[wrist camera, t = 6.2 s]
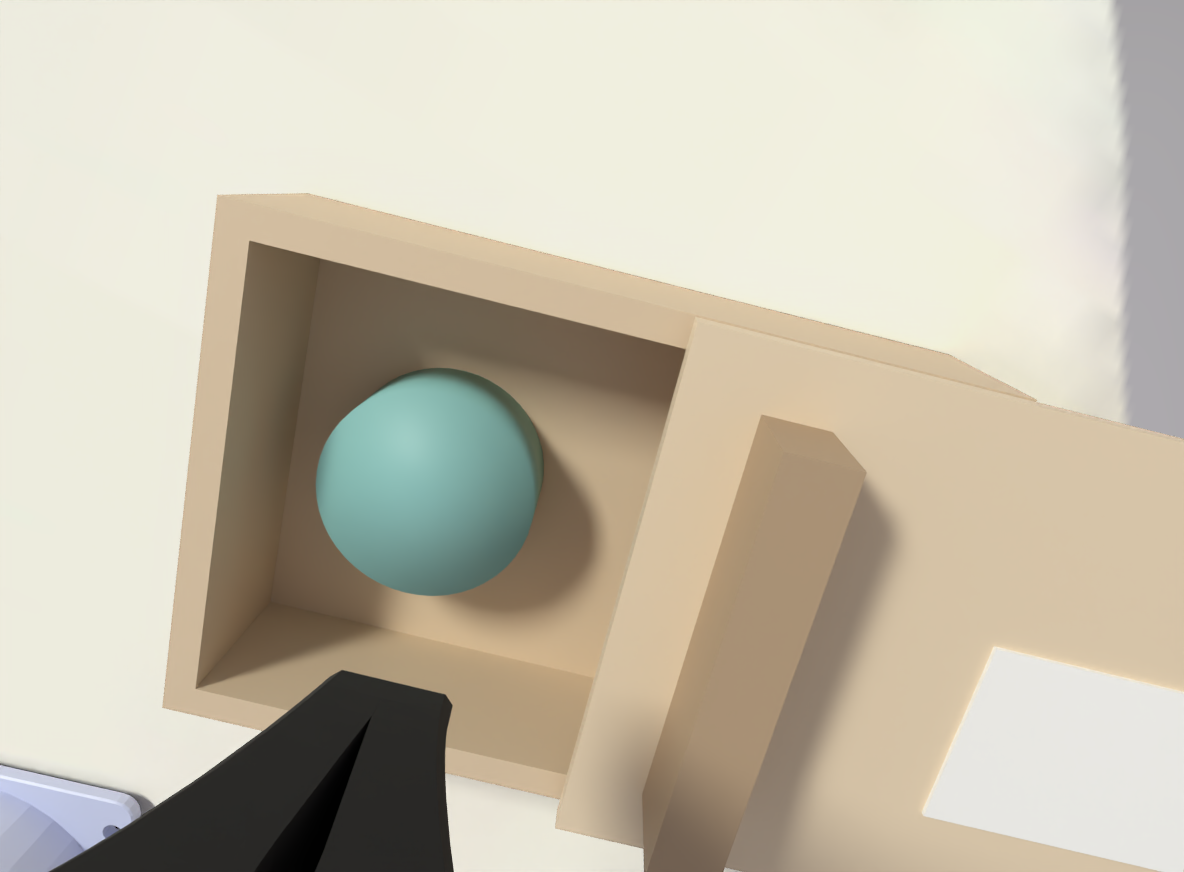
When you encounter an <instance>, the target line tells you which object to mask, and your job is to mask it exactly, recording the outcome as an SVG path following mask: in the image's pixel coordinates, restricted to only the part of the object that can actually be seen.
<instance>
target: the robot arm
mask: <svg viewBox="0 0 1184 872" xmlns="http://www.w3.org/2000/svg"><path fill="white" fill-rule="evenodd" d="M452 707H453V705H452V704H451V702H450V700H449V699H448V697H447V696H446V694H442V693H437V692H433V691H429V690H425V689H421V688H416V687H412V686H408V685H404V684H400V683H395V682H391V681H387V680H383V679H379V678H374V677H370V676H366V675H362V674H358V673H353V672H349V671H345V670H341V671H339V672H337V673H335V674H333V675H331V676H330V677H329V678H328V679H326V680H325V681H324V682H323V683H322V684H321V685H319V686H318V687H317V688H316V689H315V690H313V691H312V692H311V693H310V694H309V695H307V696H306V697H305V698H304V699H303V700H301V701H300V702H299V703H298V704H296V705H295V706H294V707H293V708H291V709H290V710H289V711H288V712H286V713H285V714H284V715H283V716H281V717H280V718H279V719H278V720H276V721H275V722H274V723H272V724H271V725H270V726H269V727H267V728H266V729H265V730H263V731H262V732H261V733H260V734H258V735H257V736H256V737H254V738H253V739H251V740H250V741H249V742H247V743H246V744H245V745H243V746H242V747H241V748H239V749H238V750H236V751H235V752H234V753H232V754H231V755H230V756H228V757H227V758H226V759H224V760H223V761H221V762H220V763H219V764H217V765H216V766H215V767H213V768H212V769H211V770H209V771H208V772H206V773H205V774H204V775H202V776H201V777H199V778H198V779H196V780H195V781H193V782H192V783H191V784H189V785H187V786H186V787H184V788H183V789H181V790H180V791H178V792H177V793H175V794H174V795H172V796H171V797H169V798H168V799H166V800H165V801H163V802H162V803H160V804H159V805H157V806H156V807H154V808H152V809H151V810H149V811H148V812H146V813H145V814H143V815H142V816H140V815H141V811H140V806H139V804H138V803H137V801H136V800H135V799H134V798H133V797H132V796H130V795H127V794H125V793H121V792H116V791H112V790H108V789H103V788H99V787H94V786H90V785H86V784H81V783H77V782H72V781H68V780H64V779H59V778H55V777H50V776H46V775H42V774H37V773H33V772H28V771H24V770H19V769H15V768H11V767H6V766H2V765H0V872H454V870H453V863H452V855H451V847H450V838H449V826H448V815H447V803H446V786H445V749H446V735H447V728H448V724H449V720H450V716H451V711H452ZM113 825H114V826H116V827H118V828H119V829H120V830H119V829H116V828H115V827H114V826H113Z"/></svg>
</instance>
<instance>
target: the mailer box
mask: <svg viewBox="0 0 1184 872" xmlns="http://www.w3.org/2000/svg"><path fill="white" fill-rule="evenodd" d="M695 317H698V318H702V319H706V320H710V321H714V322H718V323H722V324H726V325H730V326H734V327H738V328H742V329H746V330H750V331H754V332H758V333H762V334H766V335H770V336H774V337H778V338H782V339H786V340H790V341H794V342H798V343H802V344H806V345H810V346H814V347H818V348H822V349H826V350H830V351H834V352H838V353H842V354H846V355H850V356H854V357H858V358H862V359H866V360H870V361H874V362H878V363H882V364H886V365H890V366H894V367H898V368H902V369H906V370H910V371H914V372H918V373H922V374H926V375H930V376H934V377H938V378H942V379H946V380H950V381H954V382H958V383H962V384H966V385H970V386H974V387H978V388H982V389H986V390H990V391H994V392H998V393H1002V394H1006V395H1010V396H1014V397H1018V398H1022V399H1026V400H1030V401H1034V402H1036V401H1037V400H1036V399H1034V398H1032V397H1030V396H1028V395H1026V394H1024V393H1022V392H1021V391H1019V390H1017V389H1015V388H1013V387H1011V386H1009V385H1007V384H1005V383H1003V382H1001V381H999V380H997V379H995V378H993V377H991V376H989V375H988V374H986V373H984V372H982V371H980V370H978V369H976V368H974V367H972V366H970V365H968V364H966V363H964V362H962V361H960V360H958V359H957V358H955V357H953V356H951V355H949V354H945V353H941V352H937V351H933V350H929V349H925V348H921V347H917V346H913V345H909V344H905V343H901V342H897V341H893V340H889V339H885V338H881V337H877V336H873V335H869V334H865V333H861V332H857V331H853V330H849V329H845V328H841V327H837V326H833V325H829V324H825V323H821V322H817V321H813V320H809V319H805V318H801V317H797V316H793V315H789V314H785V313H781V312H777V311H773V310H769V309H765V308H761V307H757V306H753V305H749V304H745V303H742V302H738V301H734V300H730V299H726V298H722V297H718V296H714V295H710V294H706V293H702V292H698V291H694V290H690V289H686V288H682V287H678V286H674V285H670V284H666V283H662V282H658V281H654V280H650V279H646V278H642V277H638V276H634V275H630V274H626V273H622V272H618V271H614V270H610V269H606V268H602V267H598V266H594V265H590V264H586V263H582V262H578V261H574V260H570V259H566V258H562V257H558V256H554V255H550V254H546V253H542V252H538V251H534V250H530V249H527V248H523V247H519V246H515V245H511V244H507V243H503V242H499V241H495V240H491V239H487V238H483V237H479V236H475V235H471V234H467V233H463V232H459V231H455V230H451V229H447V228H443V227H439V226H435V225H431V224H427V223H423V222H419V221H415V220H411V219H407V218H403V217H399V216H395V215H391V214H387V213H383V212H379V211H375V210H371V209H367V208H363V207H359V206H355V205H351V204H347V203H343V202H339V201H335V200H331V199H327V198H323V197H319V196H315V195H311V194H308V193H301V194H241V195H217V204H216V213H215V223H214V232H213V241H212V251H211V260H210V269H209V278H208V288H207V297H206V306H205V316H204V325H203V334H202V344H201V353H200V362H199V372H198V381H197V390H196V399H195V409H194V418H193V427H192V437H191V446H190V455H189V465H188V474H187V483H186V493H185V502H184V511H183V520H182V530H181V539H180V548H179V558H178V567H177V576H176V586H175V595H174V604H173V614H172V623H171V632H170V641H169V651H168V660H167V669H166V679H165V688H164V697H163V707H162V708H166V709H170V710H174V711H179V712H183V713H187V714H192V715H196V716H200V717H205V718H209V719H213V720H218V721H222V722H226V723H231V724H235V725H239V726H244V727H248V728H252V729H257V730H261V731H263V730H265V729H266V728H267V727H269V726H270V725H271V724H272V723H274V722H275V721H276V720H278V719H279V718H280V717H281V716H283V715H284V714H285V713H286V712H288V711H289V710H290V709H291V708H293V707H294V706H295V705H296V704H298V703H299V702H300V701H301V700H303V699H304V698H305V697H306V696H307V695H309V694H310V693H311V692H312V691H313V690H315V689H316V688H317V687H318V686H319V685H321V684H322V683H323V682H324V681H325V680H326V679H328V678H329V677H330V676H331V675H333V674H335V673H337V672H339V671H341V670H345V671H349V672H353V673H358V674H362V675H366V676H370V677H374V678H379V679H383V680H387V681H391V682H395V683H400V684H404V685H408V686H412V687H416V688H421V689H425V690H429V691H433V692H437V693H442V694H446V696H447V697H448V699H449V700H450V702H451V704H452V705H453V707H452V711H451V716H450V720H449V724H448V728H447V735H446V749H445V773H448V774H452V775H456V776H461V777H465V778H469V779H474V780H478V781H482V782H487V783H491V784H495V785H500V786H504V787H508V788H513V789H517V790H521V791H526V792H530V793H534V794H539V795H543V796H547V797H552V798H556V799H560V798H561V794H562V791H563V787H564V784H565V780H566V777H567V773H568V769H569V766H570V762H571V759H572V755H573V752H574V748H575V744H576V741H577V737H578V734H579V730H580V727H581V723H582V719H583V716H584V712H585V709H586V705H587V702H588V698H589V694H590V691H591V687H592V684H593V680H594V677H595V673H596V669H597V666H598V662H599V659H600V655H601V652H602V648H603V644H604V641H605V637H606V634H607V630H608V627H609V623H610V619H611V616H612V612H613V609H614V605H615V602H616V598H617V594H618V591H619V587H620V584H621V580H622V577H623V573H624V569H625V566H626V562H627V559H628V555H629V552H630V548H631V544H632V541H633V537H634V534H635V530H636V527H637V523H638V519H639V516H640V512H641V509H642V505H643V502H644V498H645V494H646V491H647V487H648V484H649V480H650V477H651V473H652V469H653V466H654V462H655V459H656V455H657V452H658V448H659V444H660V441H661V437H662V434H663V430H664V427H665V423H666V419H667V416H668V412H669V409H670V405H671V402H672V398H673V394H674V391H675V387H676V384H677V380H678V377H679V373H680V369H681V366H682V362H683V359H684V355H685V352H686V348H687V344H688V341H689V337H690V334H691V330H692V327H693V323H694V319H695Z"/></svg>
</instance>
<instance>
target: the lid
mask: <svg viewBox="0 0 1184 872" xmlns="http://www.w3.org/2000/svg"><path fill="white" fill-rule="evenodd" d="M555 828H556V829H560V830H564V831H569V832H573V833H578V834H582V835H586V836H591V837H595V838H599V839H604V840H608V841H612V842H617V843H621V844H625V845H630V846H634V847H639V848H643V849H644V872H723V871H724V868H725V867H726V868H730V869H734V870H739V871H743V872H1184V439H1182V438H1178V437H1174V436H1170V435H1166V434H1162V433H1158V432H1154V431H1149V430H1146V429H1142V428H1138V427H1134V426H1130V425H1126V424H1122V423H1118V422H1114V421H1110V420H1106V419H1102V418H1098V417H1094V416H1090V415H1086V414H1082V413H1078V412H1074V411H1070V410H1066V409H1062V408H1058V407H1054V406H1050V405H1046V404H1042V403H1038V402H1034V401H1030V400H1026V399H1022V398H1018V397H1014V396H1010V395H1006V394H1002V393H998V392H994V391H990V390H986V389H982V388H978V387H974V386H970V385H966V384H962V383H958V382H954V381H950V380H946V379H942V378H938V377H934V376H930V375H926V374H922V373H918V372H914V371H910V370H906V369H902V368H898V367H894V366H890V365H886V364H882V363H878V362H874V361H870V360H866V359H862V358H858V357H854V356H850V355H846V354H842V353H838V352H834V351H830V350H826V349H822V348H818V347H814V346H810V345H806V344H802V343H798V342H794V341H790V340H786V339H782V338H778V337H774V336H770V335H766V334H762V333H758V332H754V331H750V330H746V329H742V328H738V327H734V326H730V325H726V324H722V323H718V322H714V321H710V320H706V319H702V318H698V317H695V319H694V323H693V327H692V330H691V334H690V337H689V341H688V344H687V348H686V352H685V355H684V359H683V362H682V366H681V369H680V373H679V377H678V380H677V384H676V387H675V391H674V394H673V398H672V402H671V405H670V409H669V412H668V416H667V419H666V423H665V427H664V430H663V434H662V437H661V441H660V444H659V448H658V452H657V455H656V459H655V462H654V466H653V469H652V473H651V477H650V480H649V484H648V487H647V491H646V494H645V498H644V502H643V505H642V509H641V512H640V516H639V519H638V523H637V527H636V530H635V534H634V537H633V541H632V544H631V548H630V552H629V555H628V559H627V562H626V566H625V569H624V573H623V577H622V580H621V584H620V587H619V591H618V594H617V598H616V602H615V605H614V609H613V612H612V616H611V619H610V623H609V627H608V630H607V634H606V637H605V641H604V644H603V648H602V652H601V655H600V659H599V662H598V666H597V669H596V673H595V677H594V680H593V684H592V687H591V691H590V694H589V698H588V702H587V705H586V709H585V712H584V716H583V719H582V723H581V727H580V730H579V734H578V737H577V741H576V744H575V748H574V752H573V755H572V759H571V762H570V766H569V769H568V773H567V777H566V780H565V784H564V787H563V791H562V794H561V798H560V802H559V805H558V809H557V816H556V825H555Z"/></svg>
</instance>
